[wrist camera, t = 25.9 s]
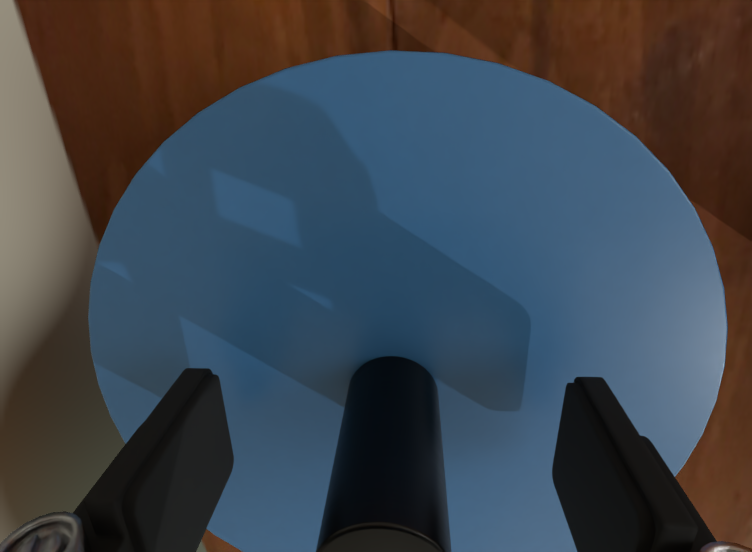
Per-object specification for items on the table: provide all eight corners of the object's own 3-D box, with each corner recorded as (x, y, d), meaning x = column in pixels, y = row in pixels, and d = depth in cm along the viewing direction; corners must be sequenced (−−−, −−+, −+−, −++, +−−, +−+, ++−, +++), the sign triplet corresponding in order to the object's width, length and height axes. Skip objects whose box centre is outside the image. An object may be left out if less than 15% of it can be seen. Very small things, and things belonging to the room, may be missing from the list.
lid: (172, 551, 17) (59, 776, 12) (35, 61, 11) (-359, 47, 5) (634, 575, 16) (751, 838, 11) (792, 42, 10) (1306, -2, 4)
